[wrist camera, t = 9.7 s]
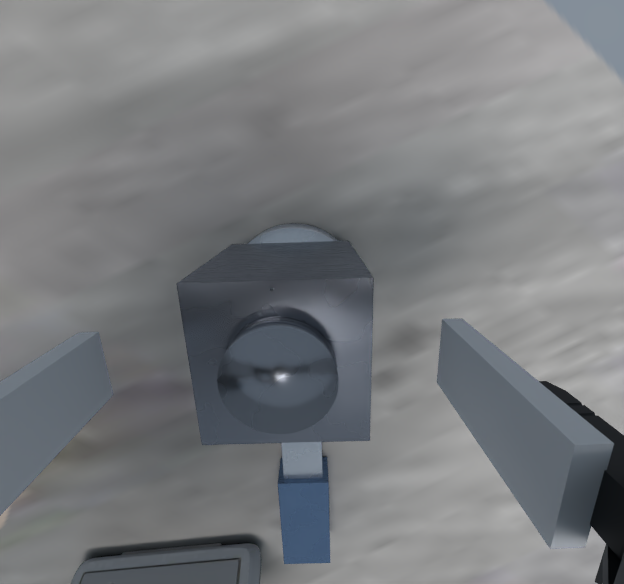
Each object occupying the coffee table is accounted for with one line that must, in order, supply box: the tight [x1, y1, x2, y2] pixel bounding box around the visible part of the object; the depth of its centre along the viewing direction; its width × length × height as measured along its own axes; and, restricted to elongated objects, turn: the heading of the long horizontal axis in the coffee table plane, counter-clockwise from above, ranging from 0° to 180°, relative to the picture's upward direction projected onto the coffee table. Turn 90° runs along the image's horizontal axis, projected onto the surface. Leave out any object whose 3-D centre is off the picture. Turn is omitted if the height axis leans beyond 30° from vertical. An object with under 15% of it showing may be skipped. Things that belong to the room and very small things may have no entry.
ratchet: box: [248, 223, 338, 564], centre depth 22 cm, size 8×26×6 cm, turn 2°
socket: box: [177, 241, 374, 445], centre depth 15 cm, size 6×6×9 cm
